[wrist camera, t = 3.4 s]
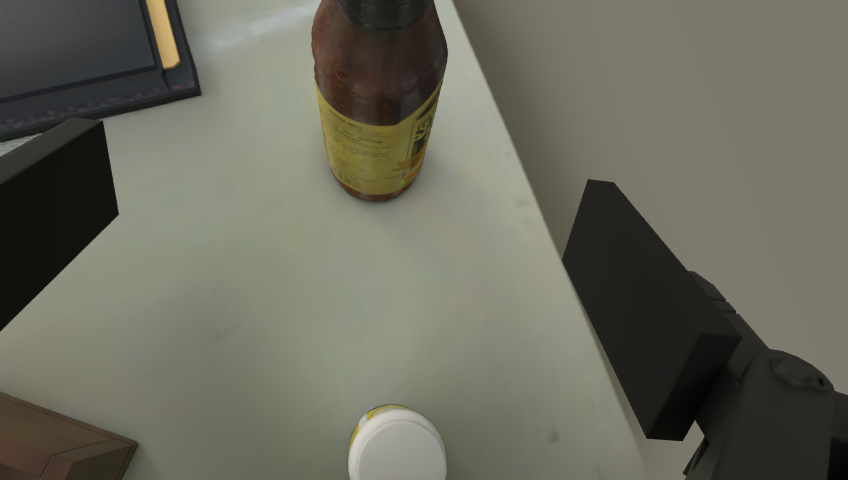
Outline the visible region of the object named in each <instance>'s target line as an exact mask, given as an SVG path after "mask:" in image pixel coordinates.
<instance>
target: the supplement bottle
mask: <svg viewBox="0 0 848 480" xmlns="http://www.w3.org/2000/svg"><path fill="white" fill-rule="evenodd" d="M348 470H349V476H350V480H446V473H447V465H446V451H445V447H444V443H443V440H442V438H441V436H440V434H439V432H438V430H437V429H436V428H435V426H434V425H433V424H432V423H431V422H430V421H429V420H428V419H427V418H425V417H424V416H422V415H421V414H419V413H417V412H415V411H413V410H412V409H410V408H408V407H405V406H402V405H397V404H386V405H381V406H378V407H376V408H374V409H372V410H370V411H369V412H367V413H366V414H365V415H364V416H363V417H362V418H361V419H360V421H359V422H358V423H357V425H356V427H355V429H354V431H353V433H352V436H351V440H350V448H349V457H348Z"/></svg>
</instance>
